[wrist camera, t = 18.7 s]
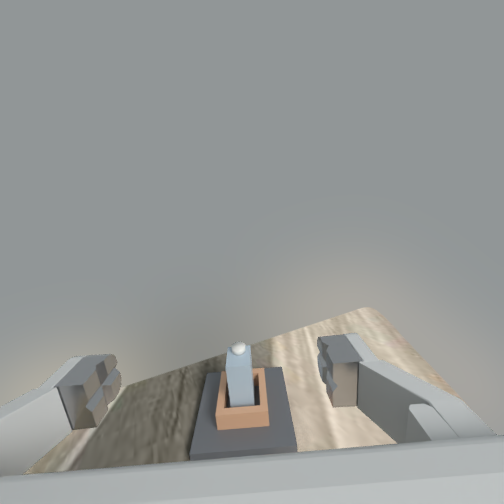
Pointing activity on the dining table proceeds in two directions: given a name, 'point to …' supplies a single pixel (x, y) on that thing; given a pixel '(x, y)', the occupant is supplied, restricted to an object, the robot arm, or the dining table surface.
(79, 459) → the dining table surface
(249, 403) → the light blue tall block
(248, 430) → the plate
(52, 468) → the dining table surface
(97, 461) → the dining table surface
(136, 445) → the dining table surface
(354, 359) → the robot arm
